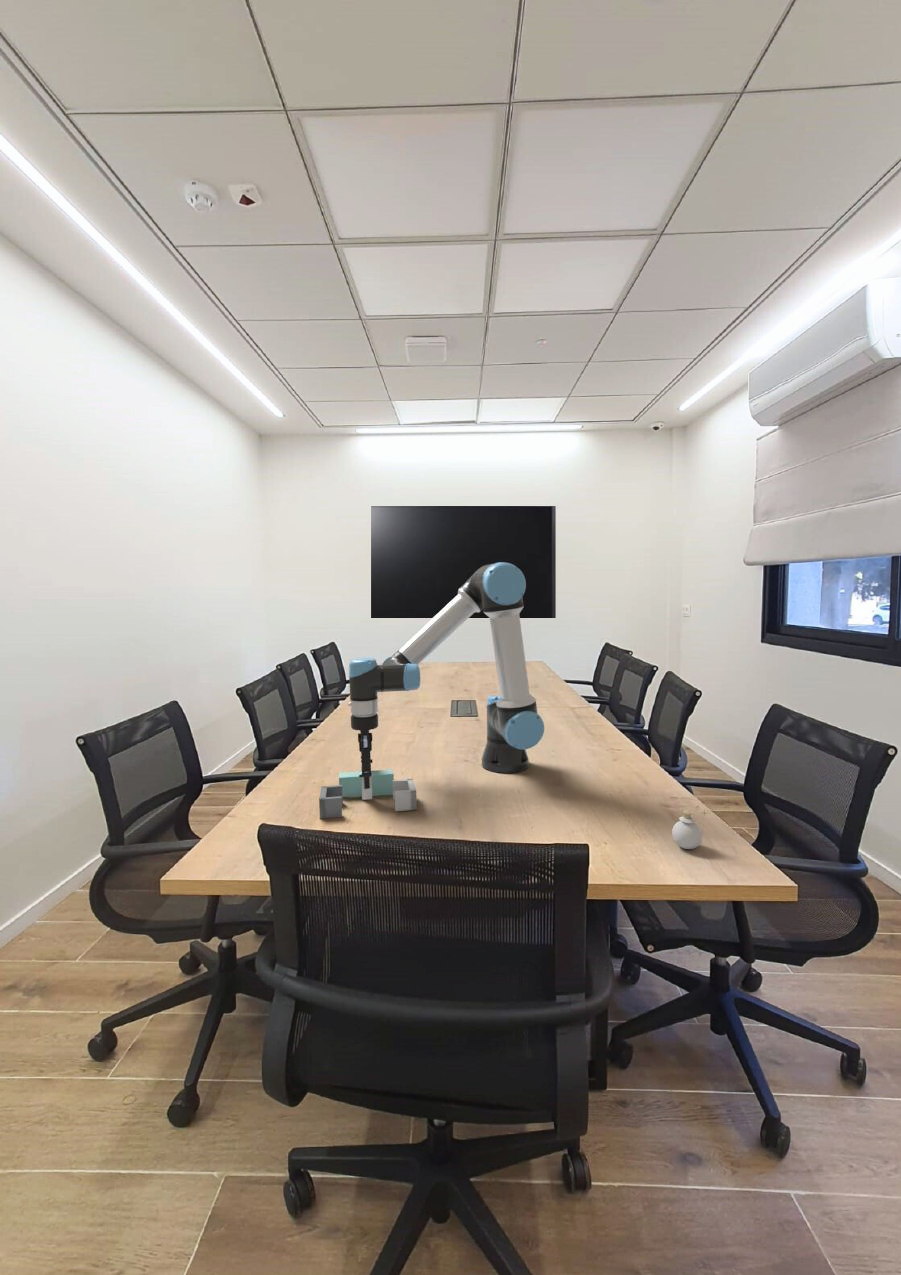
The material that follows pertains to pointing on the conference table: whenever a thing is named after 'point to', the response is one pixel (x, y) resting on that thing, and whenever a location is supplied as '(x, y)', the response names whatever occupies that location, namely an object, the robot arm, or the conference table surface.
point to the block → (380, 783)
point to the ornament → (687, 831)
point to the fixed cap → (331, 801)
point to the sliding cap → (404, 795)
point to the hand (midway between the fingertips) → (366, 792)
